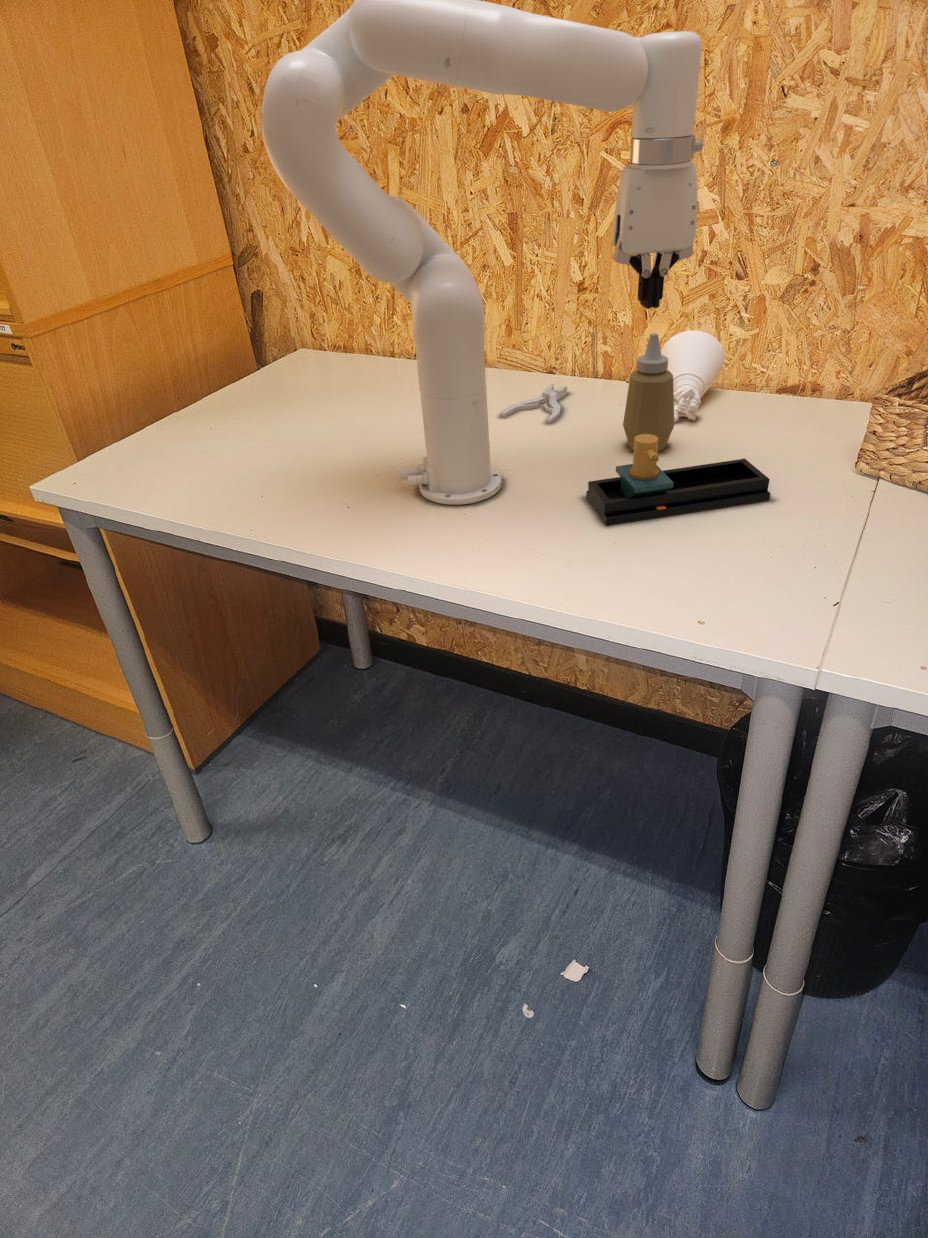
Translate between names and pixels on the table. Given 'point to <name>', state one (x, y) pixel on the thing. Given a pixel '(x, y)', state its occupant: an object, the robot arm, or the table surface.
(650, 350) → the squeeze bottle
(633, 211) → the robot arm
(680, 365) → the rocket engine
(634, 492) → the nozzle
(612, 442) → the table surface
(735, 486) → the black rectangular tray
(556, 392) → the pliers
